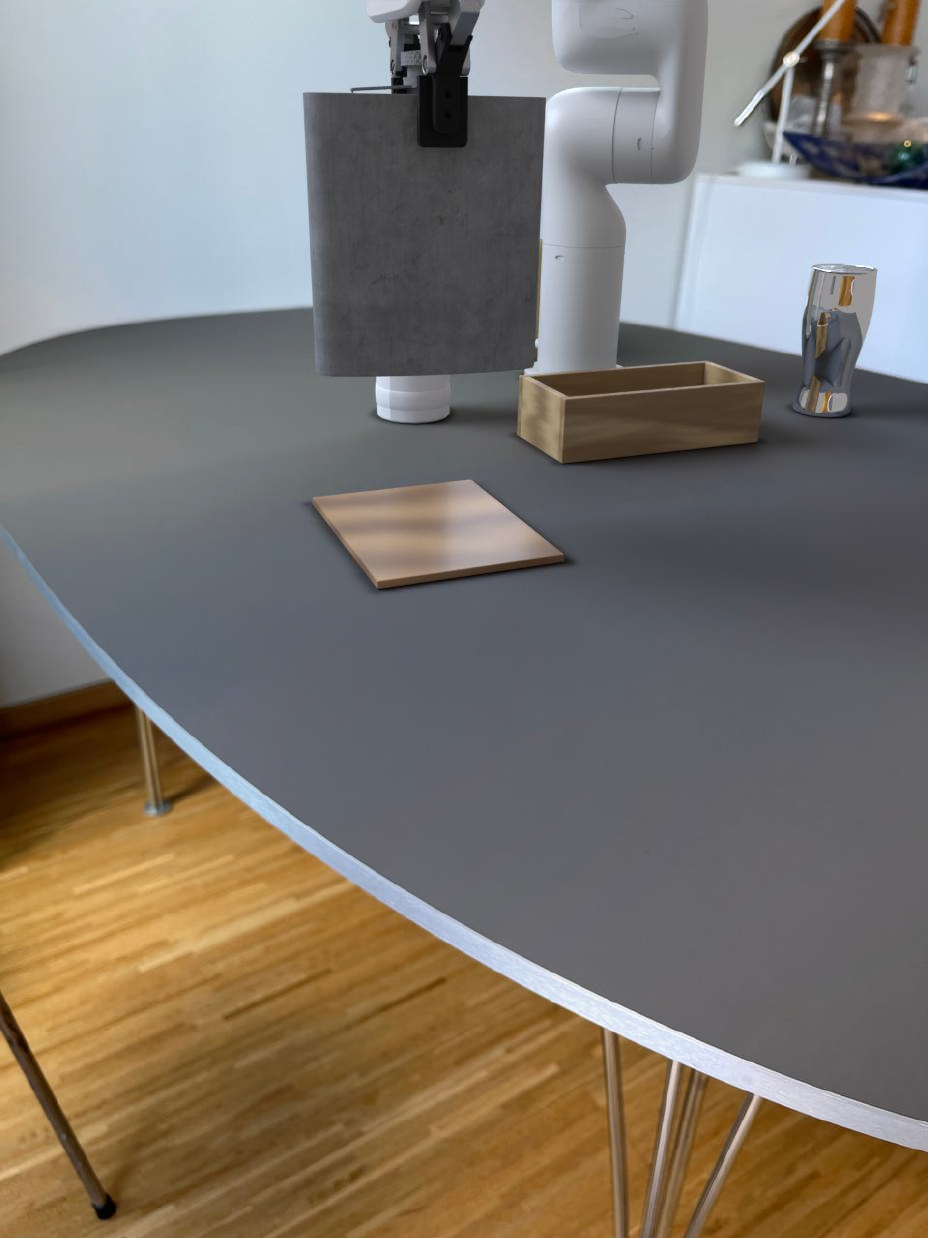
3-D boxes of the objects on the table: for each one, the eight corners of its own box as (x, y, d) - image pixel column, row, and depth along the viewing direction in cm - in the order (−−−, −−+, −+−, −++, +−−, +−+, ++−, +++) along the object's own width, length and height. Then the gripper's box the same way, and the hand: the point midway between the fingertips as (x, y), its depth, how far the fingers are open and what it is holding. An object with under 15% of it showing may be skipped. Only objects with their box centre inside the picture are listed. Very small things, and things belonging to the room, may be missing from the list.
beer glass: (858, 420, 110) (885, 273, 103) (790, 416, 111) (812, 270, 105) (849, 404, 116) (874, 264, 109) (785, 400, 117) (806, 262, 111)
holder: (516, 435, 103) (518, 375, 101) (700, 416, 111) (707, 360, 108) (561, 464, 95) (565, 399, 92) (757, 441, 102) (766, 381, 100)
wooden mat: (312, 504, 84) (311, 497, 84) (470, 485, 89) (470, 478, 89) (377, 589, 69) (377, 581, 69) (564, 562, 74) (564, 554, 74)
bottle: (462, 410, 112) (465, 100, 99) (430, 427, 105) (429, 98, 92) (397, 401, 115) (392, 99, 102) (362, 418, 108) (351, 98, 95)
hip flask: (526, 359, 77) (539, 55, 68) (543, 371, 74) (559, 52, 65) (313, 367, 74) (298, 47, 65) (320, 380, 70) (304, 44, 61)
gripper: (326, -177, 65) (338, 142, 73) (413, -256, 51) (416, 150, 59) (438, -165, 68) (438, 142, 76) (550, -237, 54) (535, 150, 62)
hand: (428, 142), depth 67 cm, fingers closed on hip flask, 4 cm apart
